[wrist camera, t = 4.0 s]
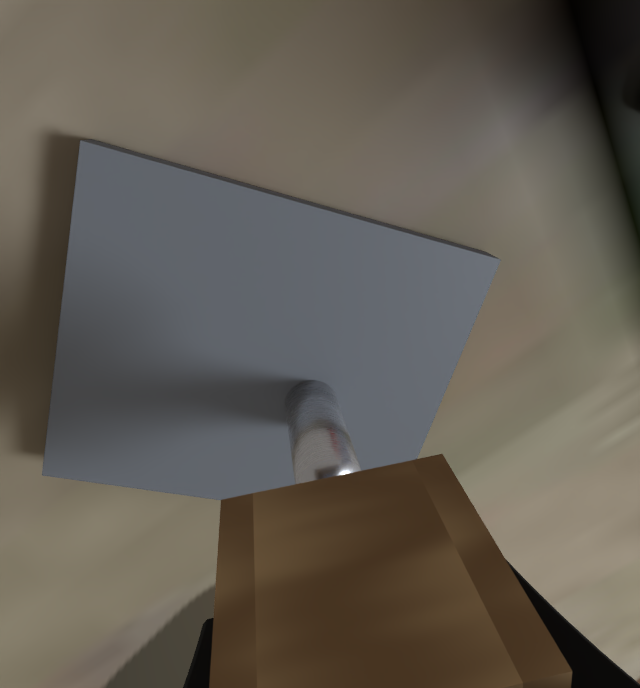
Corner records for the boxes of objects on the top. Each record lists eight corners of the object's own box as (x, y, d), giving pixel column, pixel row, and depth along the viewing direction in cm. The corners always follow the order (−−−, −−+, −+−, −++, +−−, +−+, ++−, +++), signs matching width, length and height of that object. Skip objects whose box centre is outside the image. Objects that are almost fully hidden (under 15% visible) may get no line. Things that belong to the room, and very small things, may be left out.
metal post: (338, 371, 20) (372, 463, 15) (324, 414, 21) (352, 517, 15) (289, 361, 20) (306, 452, 14) (276, 405, 20) (288, 508, 15)
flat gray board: (486, 252, 19) (500, 259, 18) (382, 504, 23) (389, 523, 22) (91, 139, 16) (80, 140, 15) (53, 456, 20) (42, 475, 19)
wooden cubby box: (441, 453, 11) (572, 670, 7) (450, 607, 13) (556, 853, 9) (221, 499, 11) (205, 758, 7) (264, 650, 13) (274, 927, 9)
